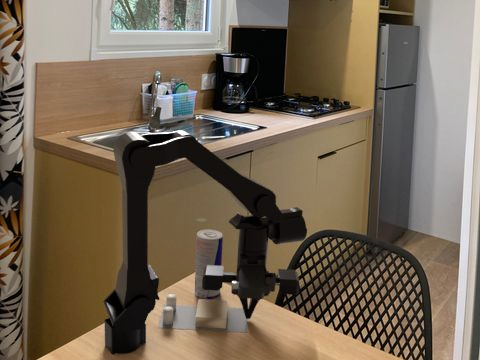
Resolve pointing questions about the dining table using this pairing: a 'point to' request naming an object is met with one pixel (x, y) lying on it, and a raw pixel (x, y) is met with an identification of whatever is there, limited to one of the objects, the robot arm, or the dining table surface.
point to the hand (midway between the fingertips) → (247, 317)
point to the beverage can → (207, 259)
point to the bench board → (186, 317)
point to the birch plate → (211, 313)
